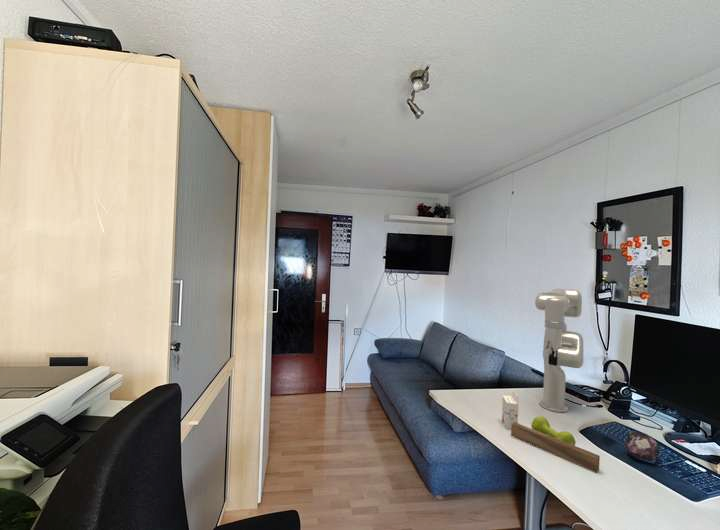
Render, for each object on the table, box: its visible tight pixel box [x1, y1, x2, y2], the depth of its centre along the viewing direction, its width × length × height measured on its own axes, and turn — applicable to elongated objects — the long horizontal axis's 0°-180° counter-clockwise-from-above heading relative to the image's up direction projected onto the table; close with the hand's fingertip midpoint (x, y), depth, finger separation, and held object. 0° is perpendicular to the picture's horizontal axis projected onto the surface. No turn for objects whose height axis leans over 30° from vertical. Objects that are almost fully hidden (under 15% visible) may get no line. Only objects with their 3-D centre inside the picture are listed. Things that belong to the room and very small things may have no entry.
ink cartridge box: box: [501, 390, 519, 430], centre depth 145 cm, size 9×5×15 cm, turn 168°
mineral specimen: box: [624, 430, 661, 463], centre depth 123 cm, size 10×10×10 cm
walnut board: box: [510, 422, 601, 473], centre depth 125 cm, size 3×30×5 cm, turn 40°
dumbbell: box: [531, 416, 577, 446], centre depth 133 cm, size 16×8×7 cm, turn 13°
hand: (552, 364), depth 147 cm, fingers closed
